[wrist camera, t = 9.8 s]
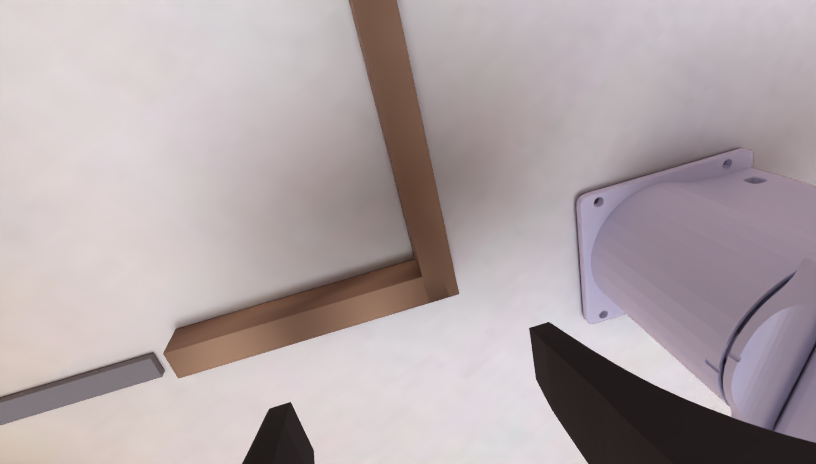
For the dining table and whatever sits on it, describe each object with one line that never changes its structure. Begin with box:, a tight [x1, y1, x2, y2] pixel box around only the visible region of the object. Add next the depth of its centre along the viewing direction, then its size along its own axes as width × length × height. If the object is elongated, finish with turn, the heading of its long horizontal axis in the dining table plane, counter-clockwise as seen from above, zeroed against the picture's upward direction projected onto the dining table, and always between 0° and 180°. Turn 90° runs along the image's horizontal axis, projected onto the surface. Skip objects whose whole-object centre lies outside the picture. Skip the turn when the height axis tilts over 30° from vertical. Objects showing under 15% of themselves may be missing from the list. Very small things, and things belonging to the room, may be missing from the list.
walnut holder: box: [163, 0, 459, 378], centre depth 17 cm, size 14×19×2 cm
